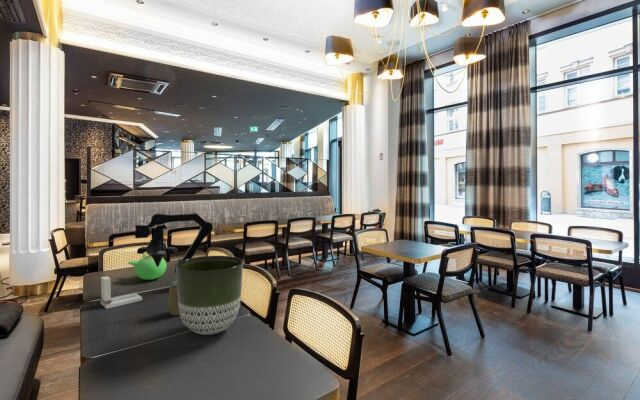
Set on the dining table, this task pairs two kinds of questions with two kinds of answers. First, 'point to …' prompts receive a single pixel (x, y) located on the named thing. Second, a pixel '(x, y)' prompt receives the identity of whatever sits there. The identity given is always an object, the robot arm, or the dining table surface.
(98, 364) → the dining table surface
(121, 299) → the fader deck
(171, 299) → the squeeze bottle
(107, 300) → the handle
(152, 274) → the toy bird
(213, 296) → the planter
